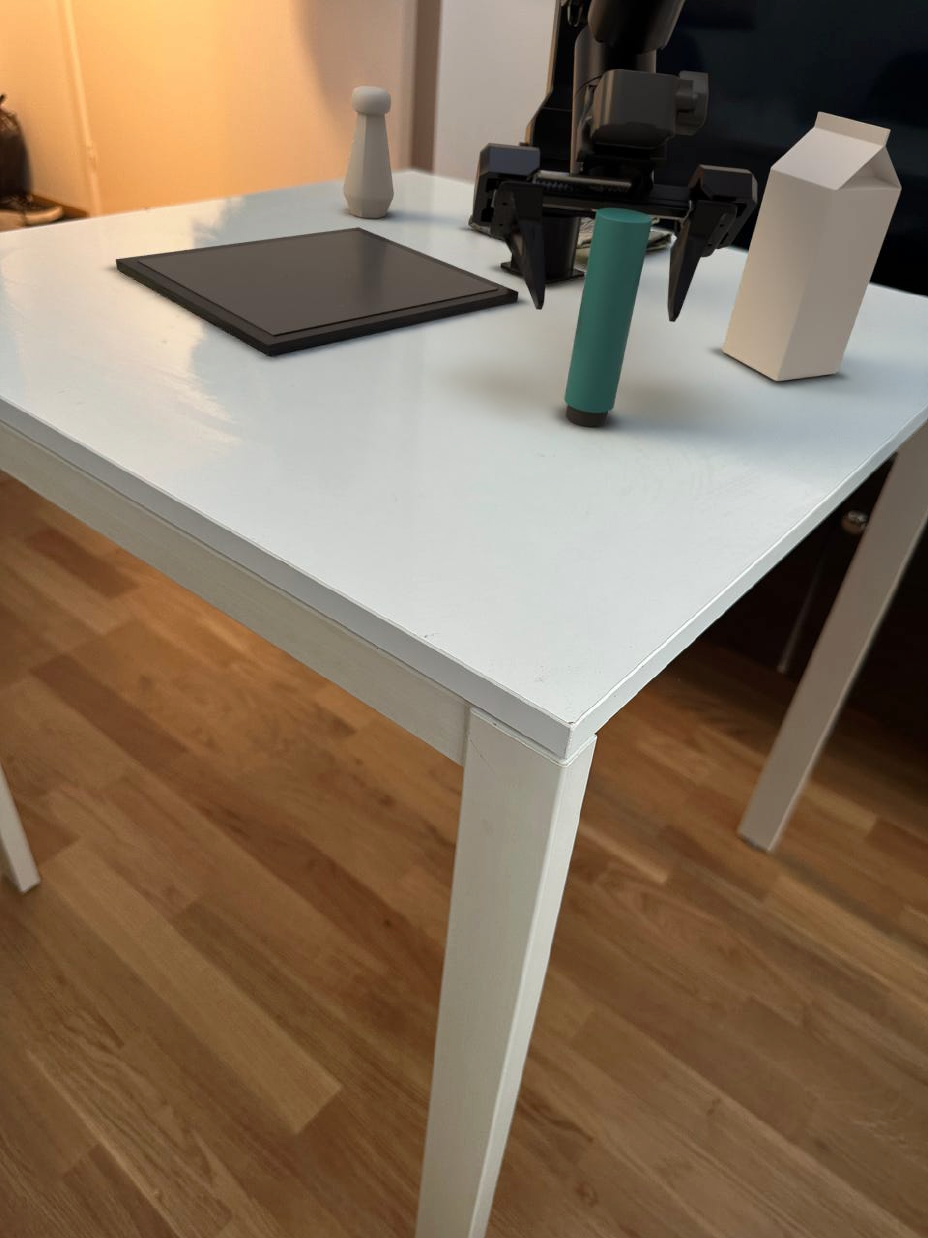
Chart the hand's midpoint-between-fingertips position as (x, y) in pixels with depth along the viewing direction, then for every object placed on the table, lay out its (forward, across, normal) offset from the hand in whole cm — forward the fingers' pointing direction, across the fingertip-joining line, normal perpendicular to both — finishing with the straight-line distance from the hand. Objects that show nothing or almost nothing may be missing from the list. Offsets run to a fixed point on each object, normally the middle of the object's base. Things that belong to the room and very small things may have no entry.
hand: (607, 312), depth 62 cm
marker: (+5, 0, +6) cm, 8 cm away
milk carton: (-5, +19, +16) cm, 26 cm away
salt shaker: (-33, -19, +43) cm, 58 cm away
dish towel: (-31, +5, +42) cm, 52 cm away
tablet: (-13, -22, +24) cm, 34 cm away
